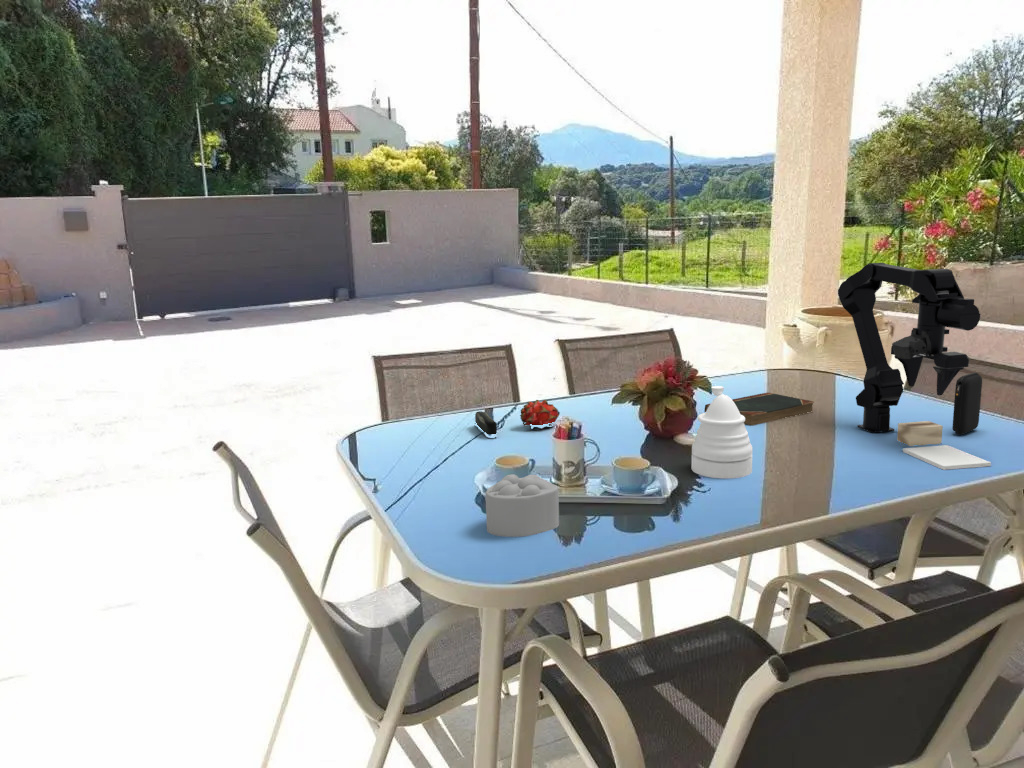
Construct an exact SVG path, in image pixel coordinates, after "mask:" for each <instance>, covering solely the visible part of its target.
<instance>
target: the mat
mask: <svg viewBox="0 0 1024 768" xmlns="http://www.w3.org/2000/svg"><path fill="white" fill-rule="evenodd" d="M902 452H903V453H904V454H907V455H908V456H909V455H910V456H911V457H914V458H915V459H917V460H921V461H922V462H925V463H928V464H929V465H932V466H934V467H935V468H937V469H938V468H939V469H941V470H943V471H946V470H958V469H959V470H960V469H972V468H985V467H991V466H992V462H991V461H988V460H986V459H984V458H981V457H979V456H975V455H973V454H970V453H967V452H966V451H963V450H960V449H958V448H956V447H953V446H950V445H947V444H944V445H934V446H933V445H931V446H921V447H920V446H917V447H906V448H902Z"/></svg>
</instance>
